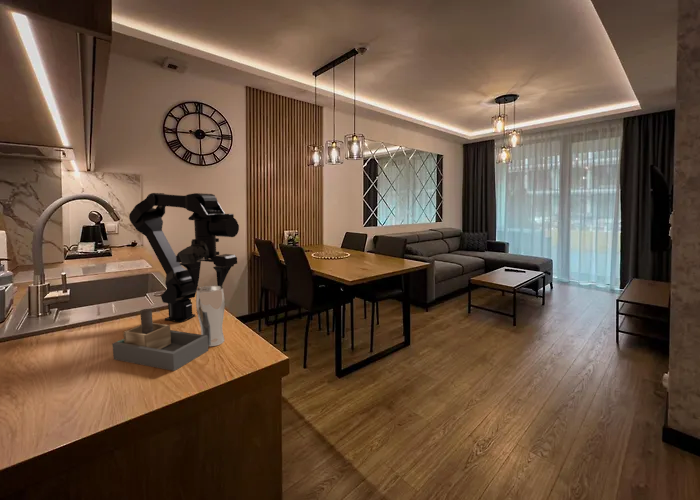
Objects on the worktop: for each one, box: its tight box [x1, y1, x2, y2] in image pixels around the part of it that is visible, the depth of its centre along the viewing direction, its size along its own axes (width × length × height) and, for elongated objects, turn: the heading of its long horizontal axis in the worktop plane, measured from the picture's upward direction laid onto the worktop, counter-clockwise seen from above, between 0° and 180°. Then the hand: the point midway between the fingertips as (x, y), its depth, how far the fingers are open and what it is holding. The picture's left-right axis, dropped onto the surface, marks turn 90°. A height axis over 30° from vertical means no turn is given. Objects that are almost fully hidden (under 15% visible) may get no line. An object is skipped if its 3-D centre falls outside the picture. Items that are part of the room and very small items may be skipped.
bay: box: [112, 329, 209, 372], centre depth 82 cm, size 18×11×4 cm, turn 73°
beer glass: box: [195, 284, 226, 348], centre depth 89 cm, size 7×7×15 cm
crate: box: [123, 308, 171, 349], centre depth 83 cm, size 7×7×10 cm
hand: (207, 286), depth 102 cm, fingers open, 9 cm apart
